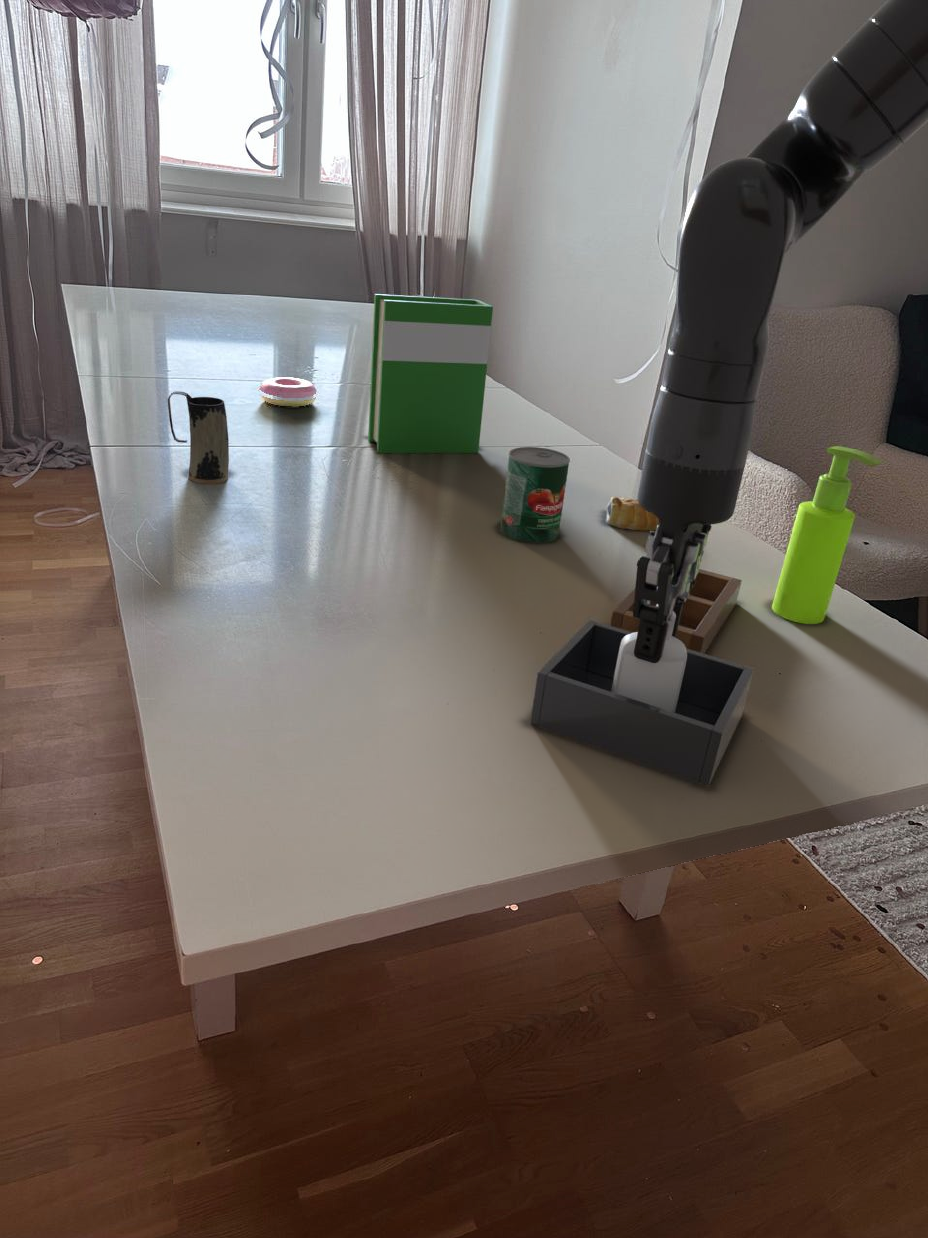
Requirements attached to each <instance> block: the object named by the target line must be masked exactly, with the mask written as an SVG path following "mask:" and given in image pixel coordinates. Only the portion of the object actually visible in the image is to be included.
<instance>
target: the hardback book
mask: <svg viewBox="0 0 928 1238" xmlns="http://www.w3.org/2000/svg"><path fill="white" fill-rule="evenodd" d="M373 301H374V302H373V323H372V327H373V328H372V345H371V369H370V388H369V389H370V391H369V408H368V409H369V410H368V411H369V412H368V431H367V432H368V433H367V435H368V436H367V441H368V442H369V443H376V452H377V454H479V450H480V441H481V440H480V439H481V430H482V429H481V428H482V420H483V412H484V411H483V408H484V398H485V392H486V391H485V390H486V381H487V380H486V379H487V371H488V361H489V352H490V351H489V349H490V341H491V330H492V321H493V312H494V311H493V310H494V306H492V305H490V304H488V303H486V302H483V300H482V301H481V300H479V299H471V298H470V299H468V298H453V297H451V298H450V297H435V296H434V297H433V296H418V295H402V294H401V295H400V294H399V295H398V294H382V293H374V300H373Z"/></svg>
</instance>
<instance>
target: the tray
mask: <svg viewBox="0 0 928 1238" xmlns="http://www.w3.org/2000/svg"><path fill="white" fill-rule="evenodd" d="M741 586H742V579H740V578H735V577H732V576H728V575H724V574H721V573H716V572H713V571H708V570H706V569H702V568H699V571H698V574H697V576H696V583H695V585H693V588H689V593H690V594H689V597H688V598H687V600H686V601H685V602H683V601H681V602H682V603H683V608H682V612H681V617H680V621H679V624H680V623H681V624H683V625H688V626H690V627H694V628H696V629H692V628H689V627H685V626H683V625H679V626H678V630H677V635H676V638H677V639H679V640H680V641H681V642H682V643H683V644H684V645H685V647H686V649H690V650H693V651H697V652H700V653H703V654H706V652H707V650H708V648H709V647H710V645H711V644H712V643H713V641H714V640H715V638H716V636H717V634H718V633H719V632H720V630H721V628H722V626H723V625H724V624H725V622H726V620H727V619H728V617H729V615H730V614H731V612H732V611H733V610H734V607H735V606H736V605H737V601H738V597H739V593H740V590H741ZM634 597H635V587H634V588H633V589H632V590H631V591H630V592H629V594H627V596H625V598H624V599H623V600H622V601H621V602H620V603H619V604H618V605H617V606H616V607H615V608H614V609H613V611H612V614H611V618H610V624H609V626H613V627H616V628H619V629H623V630H626V631H629V632H633V633H634V632H638V629H639V624H640V619H638V618H635V617H633V608H634ZM655 603H656V602H652V601H650V604H651V605H654V606H655Z"/></svg>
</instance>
